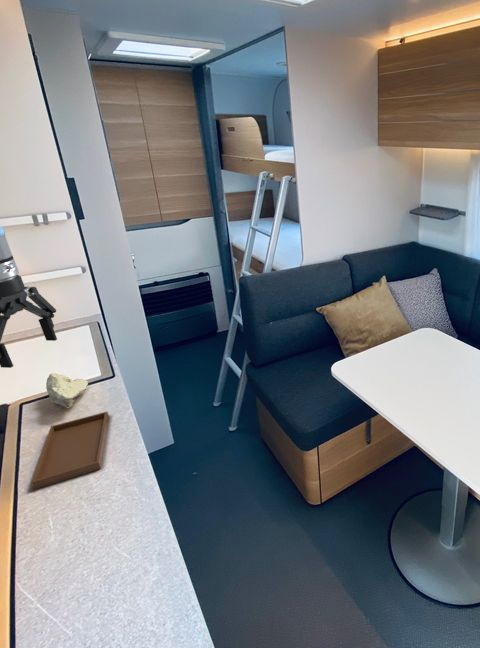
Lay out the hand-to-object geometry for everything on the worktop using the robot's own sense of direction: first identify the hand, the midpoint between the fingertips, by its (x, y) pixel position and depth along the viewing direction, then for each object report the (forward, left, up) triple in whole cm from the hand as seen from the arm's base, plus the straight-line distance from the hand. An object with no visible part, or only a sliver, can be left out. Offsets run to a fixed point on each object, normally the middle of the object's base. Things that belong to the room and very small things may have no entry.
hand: (30, 352), depth 109 cm
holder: (+7, -17, -22) cm, 29 cm away
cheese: (+3, +6, -22) cm, 23 cm away
